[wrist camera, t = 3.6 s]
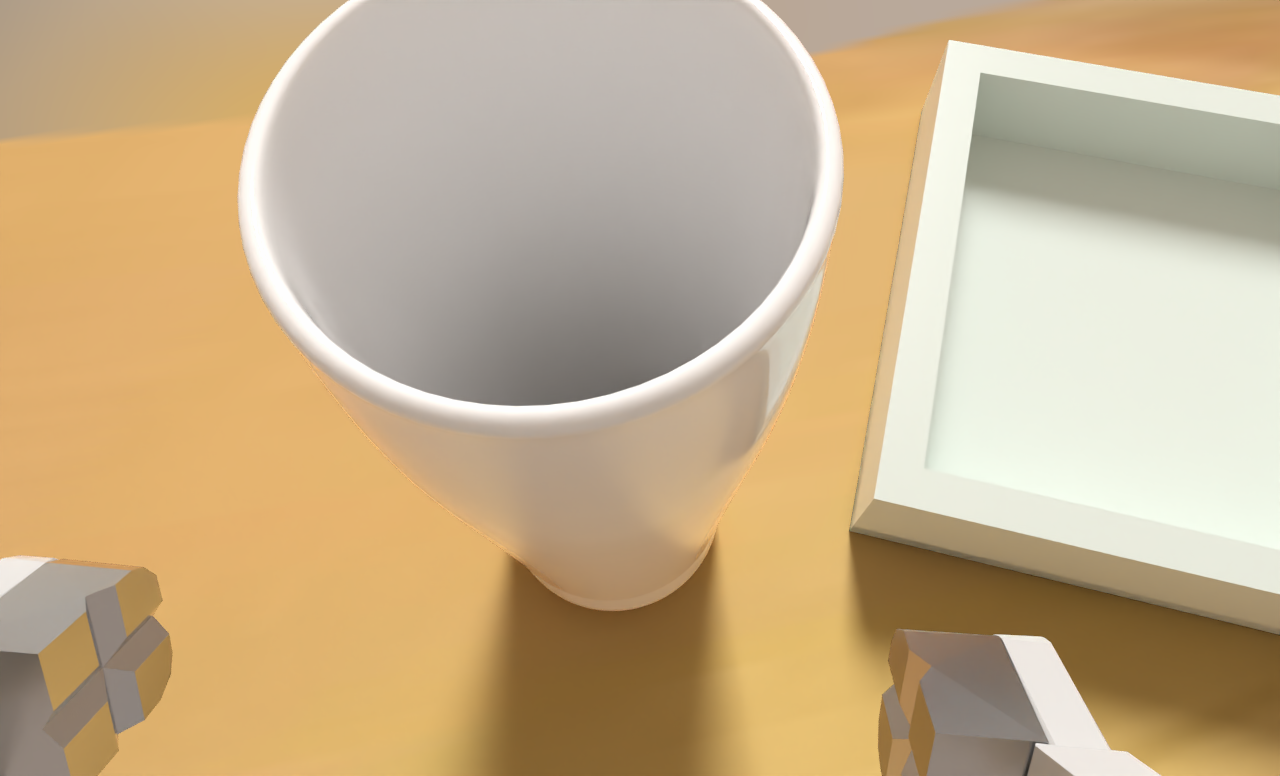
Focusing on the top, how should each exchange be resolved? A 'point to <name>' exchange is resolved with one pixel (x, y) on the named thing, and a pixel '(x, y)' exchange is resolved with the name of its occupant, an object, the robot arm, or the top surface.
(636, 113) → the white tall cup
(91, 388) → the top surface
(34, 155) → the top surface
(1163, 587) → the tray
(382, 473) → the top surface
